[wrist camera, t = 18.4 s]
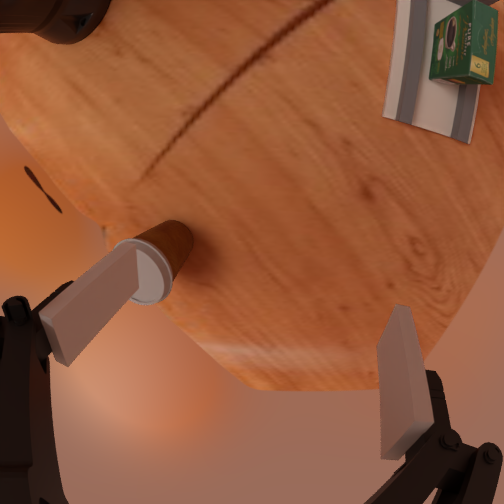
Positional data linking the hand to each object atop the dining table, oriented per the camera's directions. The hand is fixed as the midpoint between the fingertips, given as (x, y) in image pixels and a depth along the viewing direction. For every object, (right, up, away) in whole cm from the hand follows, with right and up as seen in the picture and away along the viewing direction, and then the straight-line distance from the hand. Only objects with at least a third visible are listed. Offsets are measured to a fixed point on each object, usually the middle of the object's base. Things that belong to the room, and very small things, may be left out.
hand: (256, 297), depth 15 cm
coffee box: (+22, +26, +13) cm, 36 cm away
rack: (+23, +26, +14) cm, 37 cm away
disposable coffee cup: (-12, +4, +35) cm, 37 cm away
